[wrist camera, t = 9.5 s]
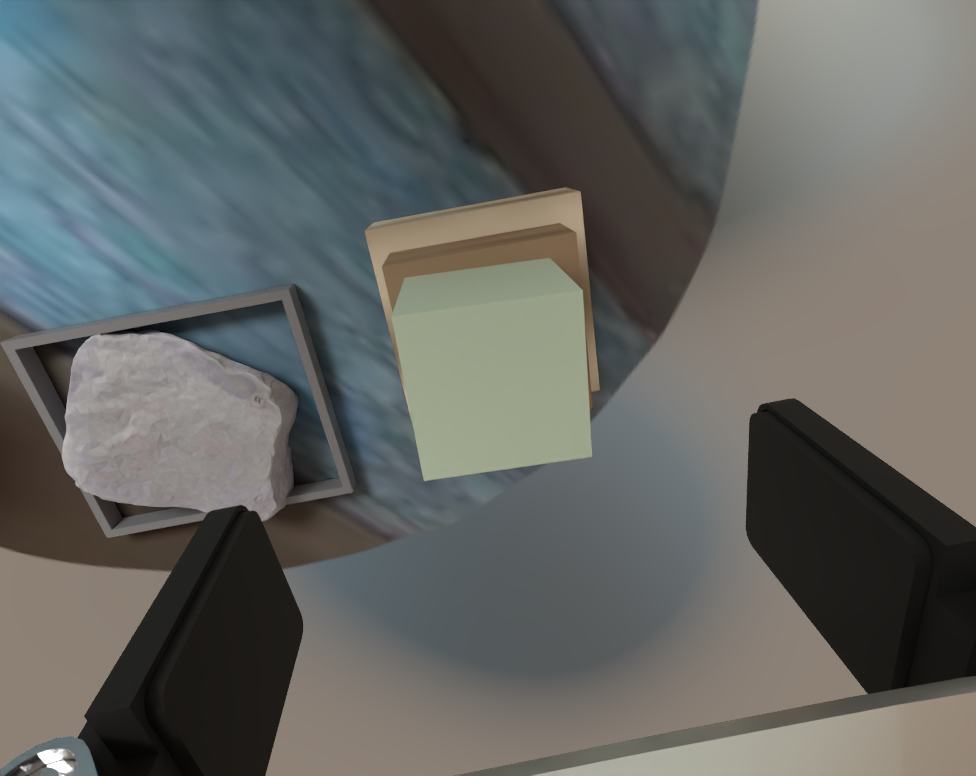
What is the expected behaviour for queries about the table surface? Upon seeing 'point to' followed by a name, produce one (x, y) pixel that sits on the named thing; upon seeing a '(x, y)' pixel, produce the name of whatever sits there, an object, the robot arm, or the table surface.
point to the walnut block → (487, 258)
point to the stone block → (176, 426)
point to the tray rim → (40, 383)
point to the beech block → (480, 223)
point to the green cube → (494, 367)
